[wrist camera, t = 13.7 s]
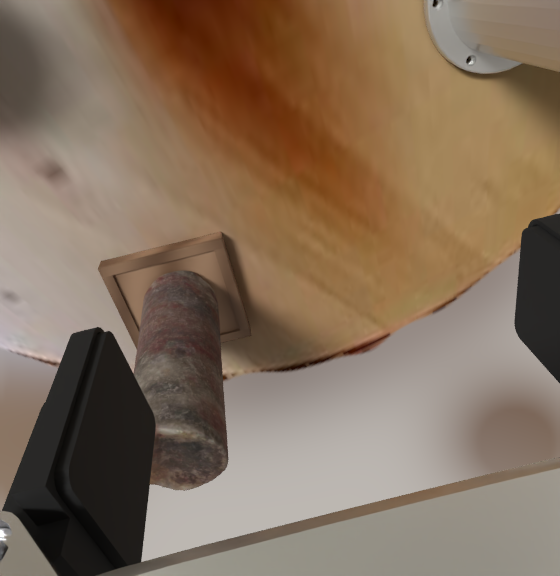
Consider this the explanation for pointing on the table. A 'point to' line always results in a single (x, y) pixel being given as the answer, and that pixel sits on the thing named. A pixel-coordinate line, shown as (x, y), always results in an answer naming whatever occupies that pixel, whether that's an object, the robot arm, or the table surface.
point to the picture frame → (175, 257)
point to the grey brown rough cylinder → (183, 380)
